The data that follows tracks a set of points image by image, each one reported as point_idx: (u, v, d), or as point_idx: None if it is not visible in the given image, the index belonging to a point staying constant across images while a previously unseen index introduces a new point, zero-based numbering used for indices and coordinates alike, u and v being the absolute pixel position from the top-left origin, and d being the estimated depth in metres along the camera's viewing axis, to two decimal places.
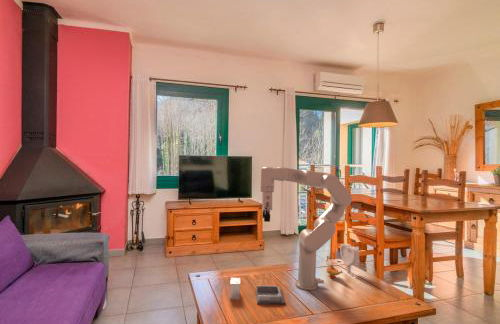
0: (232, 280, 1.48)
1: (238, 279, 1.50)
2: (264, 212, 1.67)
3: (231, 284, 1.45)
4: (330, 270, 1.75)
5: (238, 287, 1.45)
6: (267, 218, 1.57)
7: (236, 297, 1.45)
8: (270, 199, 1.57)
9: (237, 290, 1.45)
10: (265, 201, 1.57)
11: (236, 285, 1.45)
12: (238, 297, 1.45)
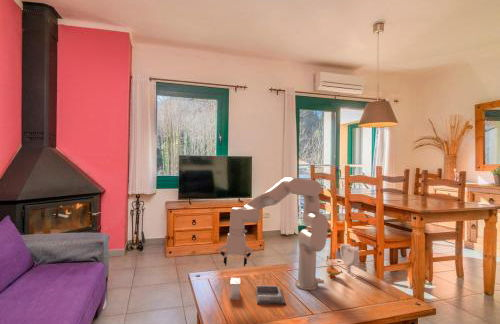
0: (232, 280, 1.48)
1: (238, 279, 1.50)
2: (226, 259, 1.47)
3: (231, 284, 1.45)
4: (330, 270, 1.75)
5: (238, 287, 1.45)
6: (246, 261, 1.48)
7: (236, 297, 1.45)
8: None
9: (237, 290, 1.45)
10: (245, 244, 1.47)
11: (236, 285, 1.45)
12: (238, 297, 1.45)
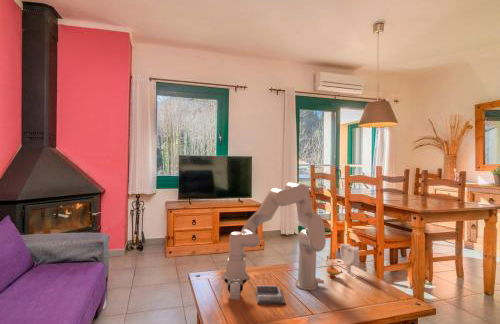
0: (232, 280, 1.48)
1: None
2: None
3: (231, 284, 1.45)
4: (330, 270, 1.75)
5: (238, 287, 1.45)
6: (242, 288, 1.49)
7: (236, 297, 1.45)
8: (245, 265, 1.50)
9: (237, 290, 1.45)
10: (245, 269, 1.47)
11: (236, 285, 1.45)
12: (238, 297, 1.45)
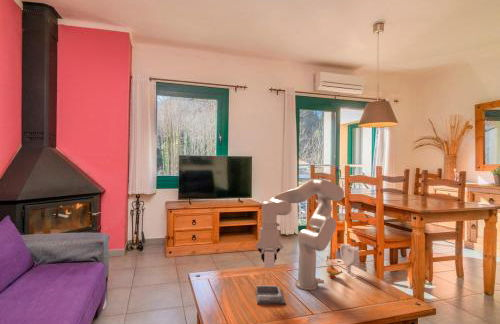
0: (265, 249, 1.48)
1: None
2: None
3: (265, 252, 1.44)
4: (330, 270, 1.75)
5: (272, 255, 1.45)
6: None
7: (270, 265, 1.45)
8: None
9: (272, 259, 1.45)
10: (278, 238, 1.47)
11: (270, 254, 1.44)
12: (272, 265, 1.45)
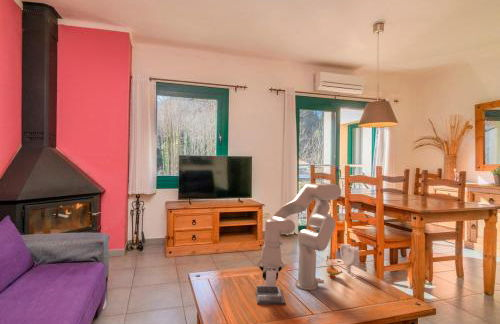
0: (267, 268, 1.47)
1: (273, 267, 1.49)
2: (265, 273, 1.47)
3: (267, 271, 1.44)
4: (330, 270, 1.75)
5: (274, 274, 1.44)
6: None
7: (272, 284, 1.44)
8: None
9: (273, 278, 1.44)
10: None
11: (272, 272, 1.44)
12: (274, 284, 1.44)
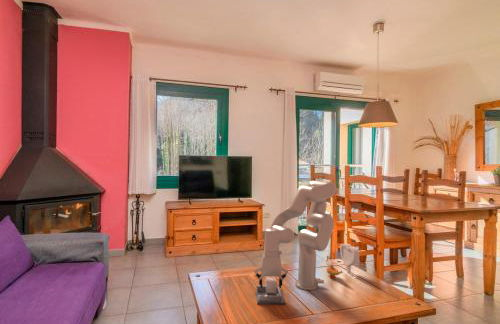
0: (267, 280, 1.47)
1: (273, 278, 1.49)
2: None
3: (267, 283, 1.44)
4: (330, 270, 1.75)
5: (274, 286, 1.44)
6: None
7: None
8: None
9: (274, 290, 1.44)
10: None
11: (273, 285, 1.44)
12: None
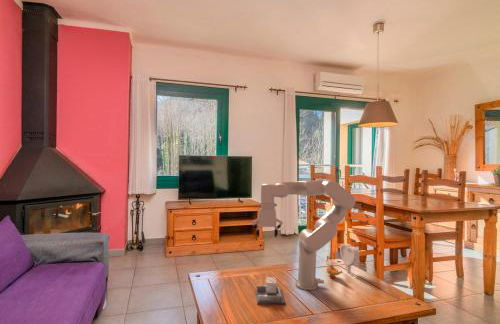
0: (267, 280, 1.47)
1: (273, 278, 1.49)
2: None
3: (267, 283, 1.44)
4: (330, 270, 1.75)
5: (274, 286, 1.44)
6: None
7: None
8: None
9: (274, 290, 1.44)
10: None
11: (273, 285, 1.44)
12: None
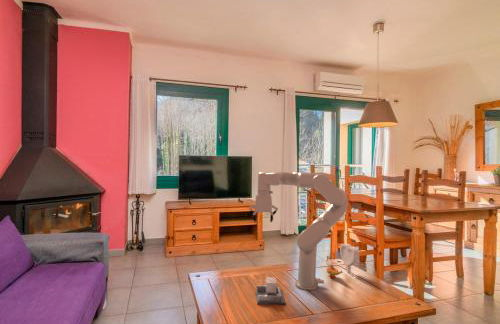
0: (267, 280, 1.47)
1: (273, 278, 1.49)
2: (255, 216, 1.72)
3: (267, 283, 1.44)
4: (330, 270, 1.75)
5: (274, 286, 1.44)
6: (272, 218, 1.73)
7: None
8: None
9: (274, 290, 1.44)
10: (271, 203, 1.71)
11: (273, 285, 1.44)
12: None
